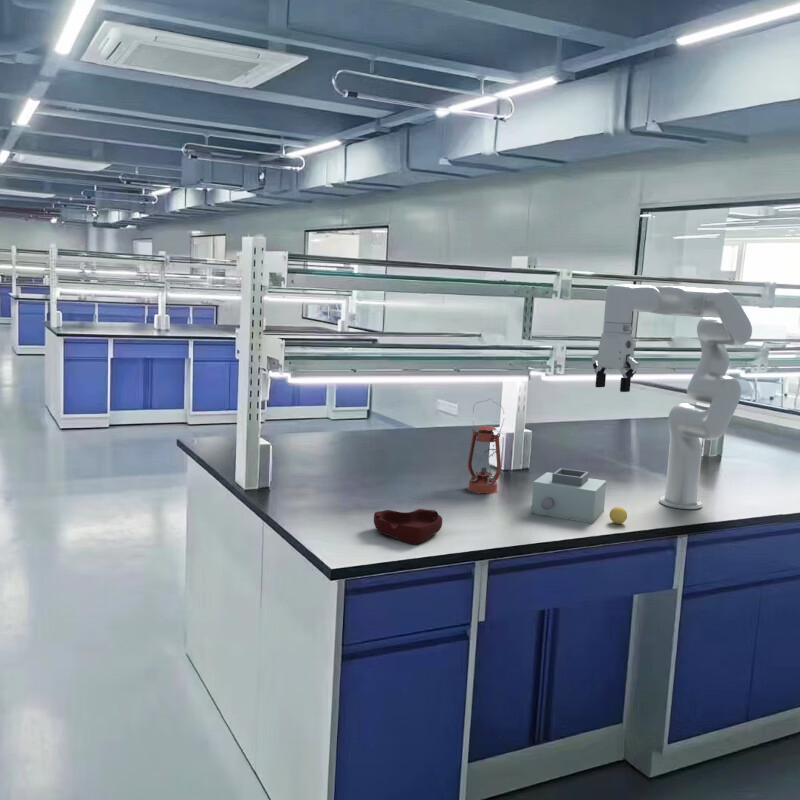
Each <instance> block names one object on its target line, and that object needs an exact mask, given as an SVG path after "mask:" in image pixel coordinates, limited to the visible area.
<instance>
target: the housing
mask: <svg viewBox="0 0 800 800" xmlns="http://www.w3.org/2000/svg"><path fill="white" fill-rule="evenodd" d="M589 475H590V472H589V471H586V470H585V471H584V470H577V469H570V468H563V467H560V468H558V469H556V471H554V472H548V471H547V472H545V473H544V474H541V476H539V477H538V478H536V479H535V480H534V481H533V482H532V483H533V486H532V498H531V499H532V500H531V512H530V513H531V514H534V513H535V515H540V514H541V515H542V516H546V515H547V517H553V518H558V519H565V520H570V521H575V522H576V521H577V522H583V523H588V522H589V524H595V522H596V521H597V520H598V519H599V518H600V516H602V514H603V513H604V512H605V501H606V490H607V489H606V488H607V480H604V479H598V478H597V479H596V478H590V476H589ZM541 515H540V516H541ZM598 517H599V518H598ZM597 518H598V519H597Z"/></svg>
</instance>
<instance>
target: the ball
mask: <svg viewBox="0 0 800 800" xmlns="http://www.w3.org/2000/svg"><path fill="white" fill-rule="evenodd" d="M609 518H610V520H611V522H612V523H614V524H617V525H622V524H623V523H625V522H626V521H627V519H628V512H627V511H626V509H625V508H624V507H621V506H615V507H613V508H611V510H610V511H609Z"/></svg>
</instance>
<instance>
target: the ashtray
mask: <svg viewBox="0 0 800 800" xmlns="http://www.w3.org/2000/svg"><path fill="white" fill-rule="evenodd" d="M373 523H374V524H373V525H374V527H375V528H376V530H377V531H378V532H379V533H381V534H383V535H386V536H389V537H392V538H395V539H398V540H400V541H402V542H405V543H408V544H411V545H420V544H423V543H425V541H427V540H429V539H430V538H431V537H432V536H434V535H435V534H437V533H438V532H439V531H441V528H442V526H443V517H442V516H441V515H440V514H439V513H438V512H437V510H435V509H424V508H418V509H415V510H412V511H409V512H404V511H403V512H402V511H397V510H391V509H385V510H379V511H375V512H374V514H373Z"/></svg>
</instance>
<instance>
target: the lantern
mask: <svg viewBox="0 0 800 800" xmlns="http://www.w3.org/2000/svg"><path fill="white" fill-rule="evenodd" d="M489 400H491V401H492V402H493V403H494V404H496V405H498V406H499V407H501V408H502V411H503V413H505V411H504V408H503V407H502V405H500V403H497V402H495V401H494V400H493V399H492V398H491V397H490V398H488V399H486V400H485V402H487V401H489ZM482 402H484V400H483V401H480V403H482ZM478 403H479V401H477V402H476V403H475V404H474V405H473V409H472V410H473V411H472V412H474V410H475V405H476V404H478ZM504 421H505V419H503V420H502V423H501V427H500V429H499V431H498V432H497V433H496V434H495V432H494V431H496V430H497V428H496V427H494V426H491V425H489V424H484V425H478V426H476V427H475V423H474V422H472V423H473V427H472V428H473V429H472V430H471V433H472V436H471V442H470V447H469V453H468V459H467V469H468V472H469V475H470V476H471V478H470V479H469V480H468V487H467V490H468V491H469V490H470V491H469V492H471V491H473V492H472V493H474V492H477V493H476V494H480V493H487V494H486V495H489V494H490V493H493V494H495V493H498V492H497V491H498V482H497V480H498V479H499V478H500V476H501V473H502V461H501V447H500V437H501V430H502V427H503V423H504ZM475 429H477V430H479V431H476V430H475ZM476 441H477V442H480V443H495V448H489V449H487V450H485V451H482V450H481V449H480V448H479V447H475V445H476ZM475 449H477V450H475ZM491 450H492V451H494V452H493V453H491V454H490V455H489V456H488V457H487V456H486V454H485V453H487V452H488V451H491ZM474 452H476V453H478V454H480V455H481V456H480V458H479V460H478V462H477V465H476V469H475V471H474V469H473V466H472V465H473V464H472V462H473V457H474ZM494 454H495V457H496V472H495V473H494V476H493V473H492V470H491V466H490V463H489V458H490V457H491V456H493V455H494ZM482 457H484V458H485V459H484V460H483V462H482V463H481V465H480V467H479V469H478V465H479V463H480V461H481V458H482ZM485 462H487V465H488V469H489V472H488V471H487V467H482V466H483V464H484V463H485ZM477 470H478V471H477ZM488 493H489V494H488ZM490 495H491V494H490Z"/></svg>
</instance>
